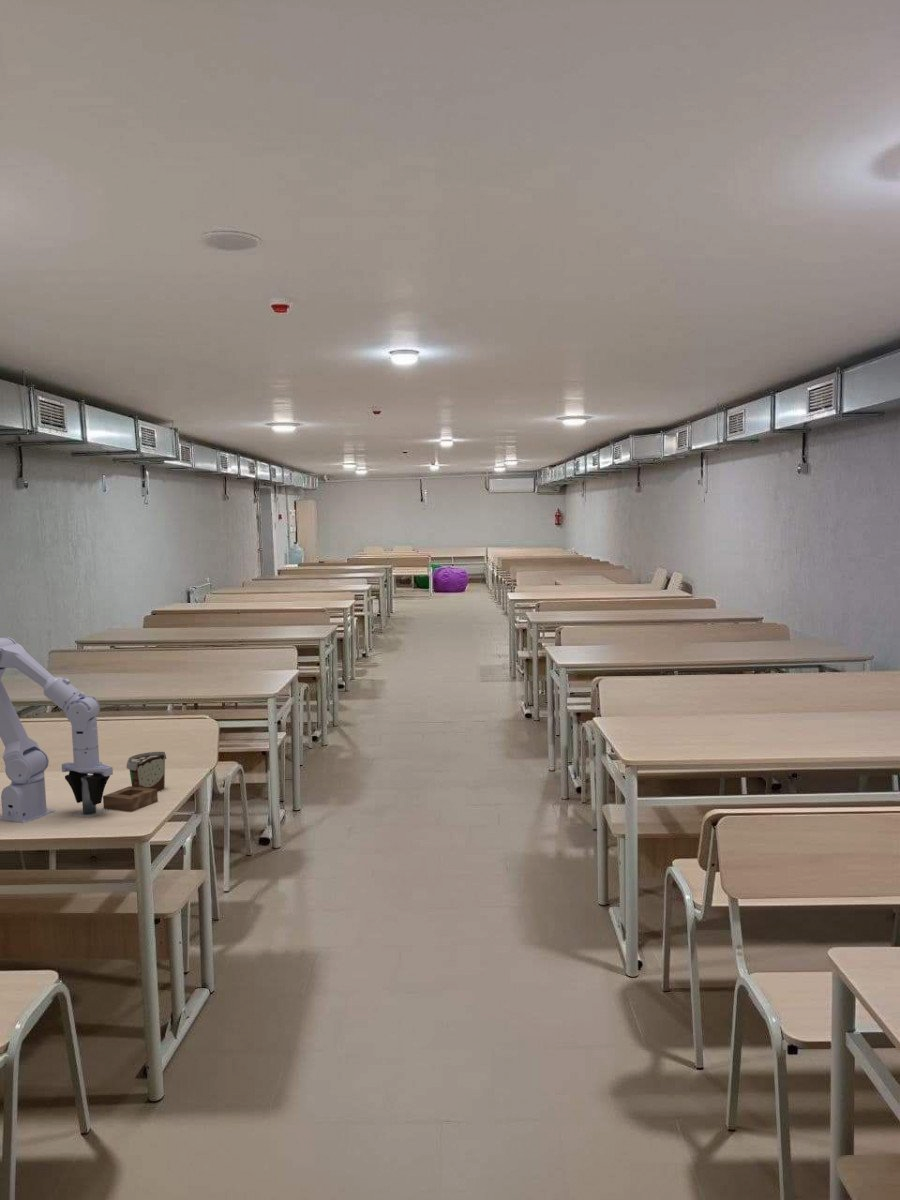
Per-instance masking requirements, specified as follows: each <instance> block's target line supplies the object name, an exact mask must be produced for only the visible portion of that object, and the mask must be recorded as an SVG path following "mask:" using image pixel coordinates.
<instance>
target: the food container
mask: <svg viewBox="0 0 900 1200" xmlns="http://www.w3.org/2000/svg"><path fill="white" fill-rule="evenodd" d="M166 760H167V754H166V752H165V751H150V752H143V753H138V754H135V755H131V756H130V757H129V758H128V759H127V762H126V766H125V767H126V769H127V770H129V775H130V781H131V783H130V784H131V786H132V787H141V788H151V789H157V793H160V792H162V791H161V790H163V791H165V790H164V789H166V788H165V786H166V785H165V781H166V780H165V779H166V778H165V777H166V773H165V772H166ZM159 791H160V792H159Z"/></svg>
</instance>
